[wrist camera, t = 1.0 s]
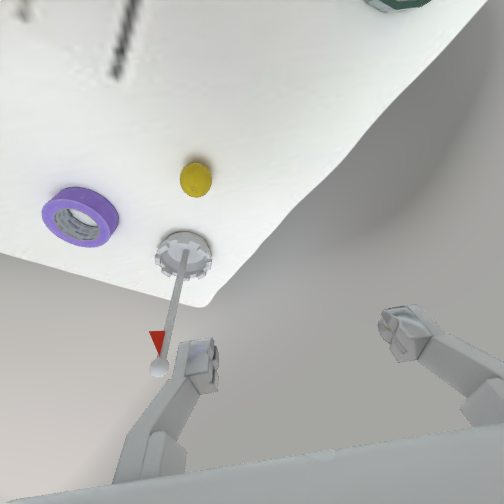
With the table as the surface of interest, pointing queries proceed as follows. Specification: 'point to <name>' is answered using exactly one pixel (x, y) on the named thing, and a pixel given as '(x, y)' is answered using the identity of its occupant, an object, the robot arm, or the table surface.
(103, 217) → the tape roll
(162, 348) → the flag stand
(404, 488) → the robot arm
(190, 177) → the lemon
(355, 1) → the table surface
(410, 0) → the dark green tabbed ring
